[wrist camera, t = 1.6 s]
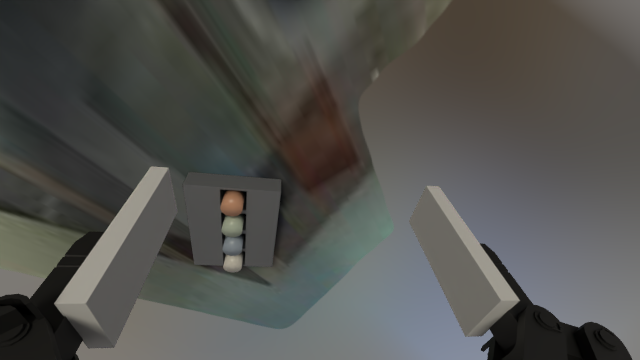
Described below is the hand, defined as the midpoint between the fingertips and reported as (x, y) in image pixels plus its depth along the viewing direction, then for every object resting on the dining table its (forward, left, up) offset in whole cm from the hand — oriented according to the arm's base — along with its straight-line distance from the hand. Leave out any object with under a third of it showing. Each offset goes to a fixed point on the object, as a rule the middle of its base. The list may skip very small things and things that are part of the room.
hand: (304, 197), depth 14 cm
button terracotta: (-8, -28, -32) cm, 43 cm away
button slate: (-8, -40, -32) cm, 52 cm away
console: (-8, -37, -35) cm, 52 cm away
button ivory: (-8, -46, -32) cm, 57 cm away
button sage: (-8, -34, -32) cm, 48 cm away
